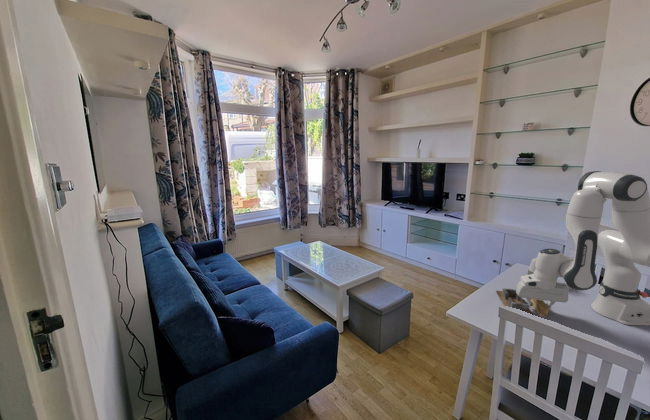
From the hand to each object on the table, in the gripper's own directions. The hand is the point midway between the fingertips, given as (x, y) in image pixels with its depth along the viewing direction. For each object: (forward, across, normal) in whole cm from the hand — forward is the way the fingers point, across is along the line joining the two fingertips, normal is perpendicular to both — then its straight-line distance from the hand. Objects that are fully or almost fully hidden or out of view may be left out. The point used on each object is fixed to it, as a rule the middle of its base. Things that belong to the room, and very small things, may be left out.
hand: (538, 306), depth 132 cm
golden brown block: (+2, 0, 0) cm, 2 cm away
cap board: (+2, +10, -2) cm, 10 cm away
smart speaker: (+2, -11, -33) cm, 35 cm away
